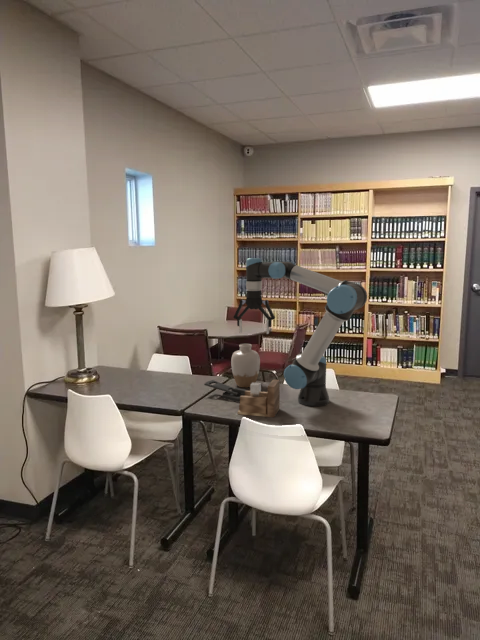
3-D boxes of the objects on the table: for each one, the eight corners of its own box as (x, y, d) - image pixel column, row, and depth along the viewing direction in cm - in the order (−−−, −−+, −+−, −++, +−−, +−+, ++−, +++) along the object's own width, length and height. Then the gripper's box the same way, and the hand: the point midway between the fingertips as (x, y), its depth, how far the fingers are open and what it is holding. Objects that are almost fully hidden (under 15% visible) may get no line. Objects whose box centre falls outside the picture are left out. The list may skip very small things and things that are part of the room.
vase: (262, 388, 257) (262, 346, 254) (234, 390, 254) (233, 348, 251) (256, 380, 272) (256, 341, 269) (229, 382, 269) (228, 342, 266)
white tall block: (260, 408, 221) (260, 383, 219) (258, 410, 217) (258, 385, 215) (252, 407, 222) (252, 382, 220) (250, 410, 218) (250, 384, 216)
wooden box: (279, 408, 223) (279, 379, 221) (274, 417, 211) (274, 386, 209) (244, 405, 227) (244, 377, 225) (237, 414, 216) (237, 384, 214)
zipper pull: (212, 379, 251) (253, 386, 238) (212, 391, 252) (253, 398, 239) (202, 383, 244) (243, 390, 231) (202, 395, 245) (243, 403, 231)
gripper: (280, 289, 231) (280, 332, 234) (231, 289, 236) (231, 331, 239) (278, 290, 223) (278, 335, 226) (227, 290, 229) (227, 333, 232)
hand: (254, 333), depth 233 cm, fingers open, 13 cm apart
